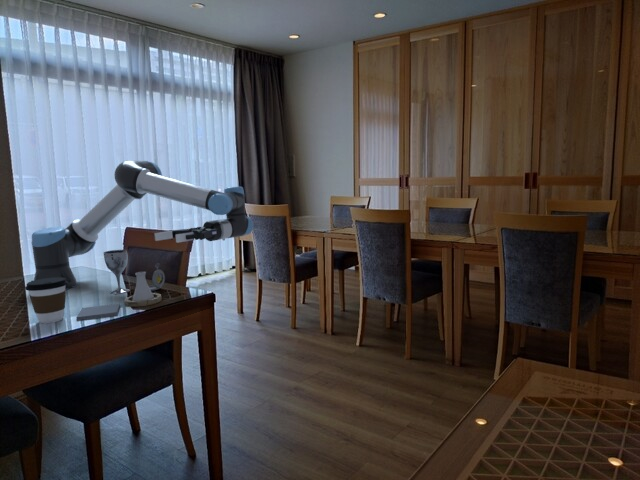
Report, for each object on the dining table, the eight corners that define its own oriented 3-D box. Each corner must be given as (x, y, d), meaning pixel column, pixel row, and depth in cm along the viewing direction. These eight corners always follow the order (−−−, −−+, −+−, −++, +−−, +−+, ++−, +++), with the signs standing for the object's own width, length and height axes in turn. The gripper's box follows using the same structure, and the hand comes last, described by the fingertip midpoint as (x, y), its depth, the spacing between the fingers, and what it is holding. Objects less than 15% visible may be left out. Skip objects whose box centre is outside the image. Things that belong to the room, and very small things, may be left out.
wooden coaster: (126, 299, 161) (125, 295, 161) (161, 295, 164) (161, 291, 164) (123, 308, 150) (123, 303, 150) (161, 303, 154) (161, 299, 153)
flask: (147, 305, 153) (144, 274, 152) (127, 304, 154) (124, 275, 153) (159, 299, 160) (156, 270, 159) (139, 299, 161) (136, 270, 160)
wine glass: (128, 293, 171) (124, 252, 169) (105, 295, 170) (100, 253, 168) (133, 288, 179) (129, 249, 177) (111, 289, 177) (106, 250, 175)
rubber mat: (82, 310, 149) (82, 307, 149) (120, 306, 153) (119, 303, 153) (76, 320, 139) (76, 317, 139) (117, 315, 142) (116, 312, 142)
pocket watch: (142, 288, 177) (139, 262, 175) (165, 286, 179) (163, 260, 178) (141, 293, 169) (138, 266, 168) (165, 291, 172) (163, 263, 170)
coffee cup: (74, 320, 139) (69, 280, 138) (31, 328, 133) (26, 287, 131) (69, 312, 148) (64, 275, 146) (28, 320, 142) (23, 281, 140)
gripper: (238, 241, 169) (187, 250, 154) (198, 238, 186) (148, 246, 170) (236, 220, 168) (184, 227, 153) (196, 219, 185) (146, 226, 169)
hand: (165, 237), depth 161 cm, fingers open, 13 cm apart
